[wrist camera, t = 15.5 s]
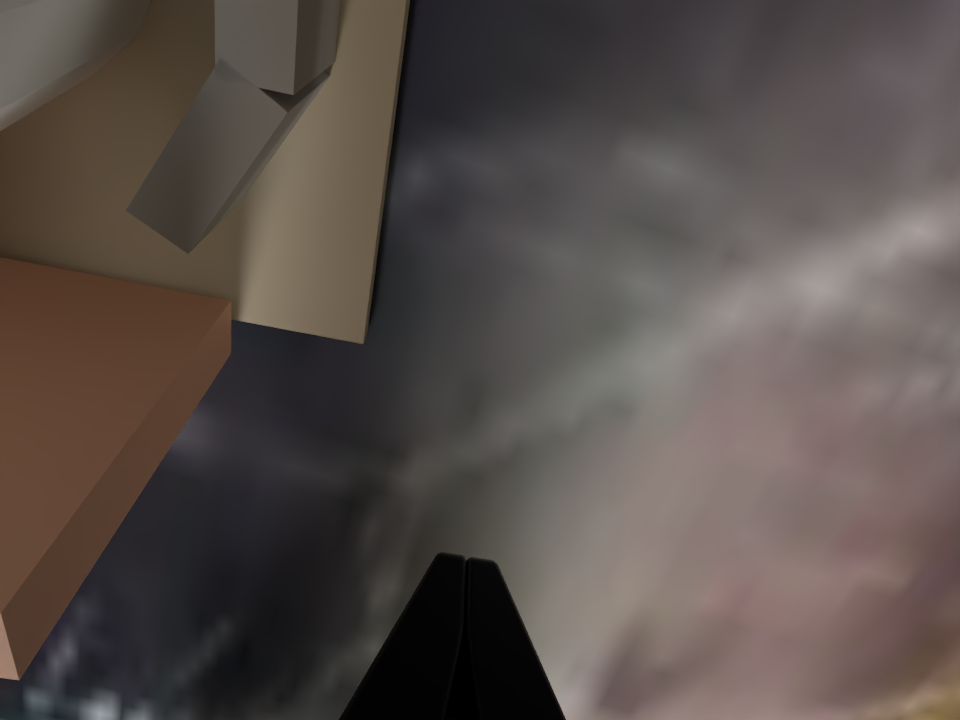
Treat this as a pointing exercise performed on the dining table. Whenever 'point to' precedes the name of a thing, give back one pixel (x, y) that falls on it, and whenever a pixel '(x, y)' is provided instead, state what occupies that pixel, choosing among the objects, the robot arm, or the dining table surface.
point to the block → (85, 424)
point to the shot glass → (58, 47)
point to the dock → (250, 242)
